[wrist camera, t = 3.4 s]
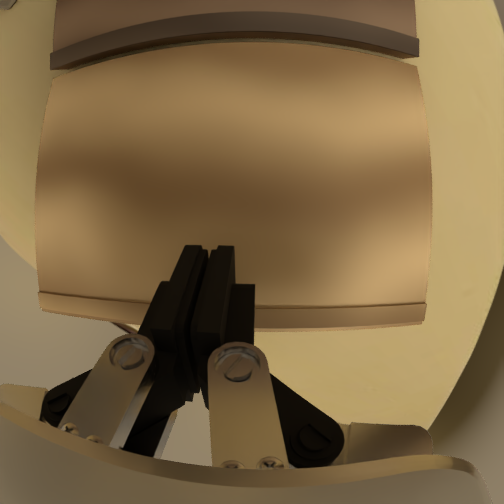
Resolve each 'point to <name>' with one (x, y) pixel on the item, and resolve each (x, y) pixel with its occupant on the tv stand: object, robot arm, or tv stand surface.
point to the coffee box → (6, 4)
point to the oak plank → (239, 183)
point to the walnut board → (227, 25)
